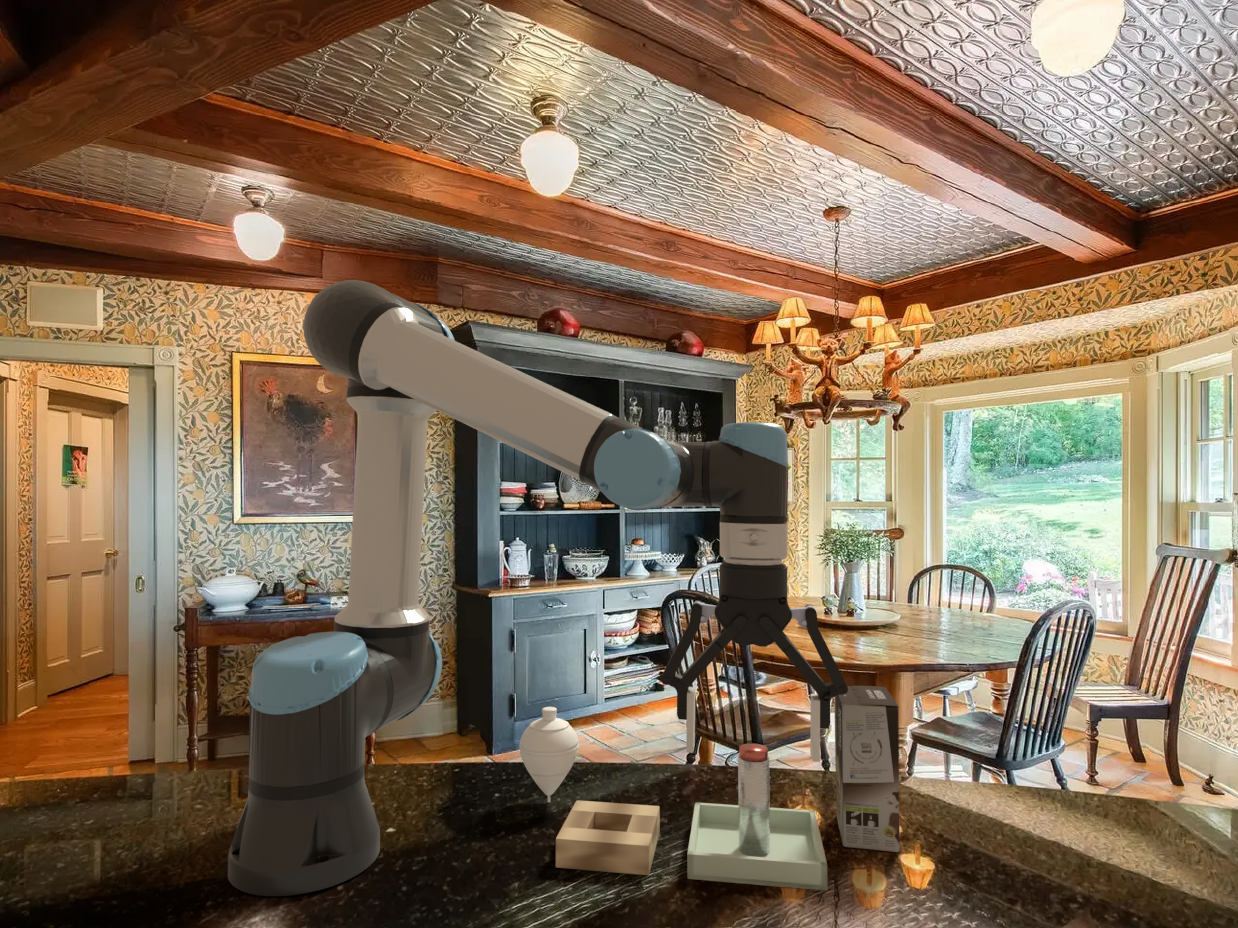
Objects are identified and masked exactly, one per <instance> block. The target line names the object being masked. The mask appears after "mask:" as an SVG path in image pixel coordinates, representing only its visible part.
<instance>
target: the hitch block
mask: <svg viewBox="0 0 1238 928" xmlns="http://www.w3.org/2000/svg"><path fill="white" fill-rule="evenodd" d="M660 811H661V810H660V806H659V805H650V804H649V805H648V804H633V803H622V802H621V803H619V802H604V801H591V800H576V801H575V802H574V804H573V806H572V808H571V809H570V812H569V813H568V815H567V817H566V819H565V820H564V823H562V826H561V828H560V830H559V832H558V834H557V836H556V838H555V868H560V869H571V870H582V871H594V872H606V873H616V874H617V873H618V874H628V875H630V874H631V875H639V876H640V875H643V876H650V873H651V869H652V864H653V861H654V857H655V852H656V848H657V844H658V840H659V836H660V832H661V831H660V830H661V829H660V828H661V827H660V824H661V823H660V822H661V821H660V819H661V818H660V816H661V815H660V814H661V813H660Z"/></svg>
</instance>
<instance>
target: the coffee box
mask: <svg viewBox="0 0 1238 928" xmlns="http://www.w3.org/2000/svg"><path fill="white" fill-rule="evenodd" d="M847 687H848V692H847V693H846V694H845V695H837V696H834V697H833V698H834V701H833V702H834V753H835V754H834V755H835V756H834V759H835V761H834V762H835V764H834V765H835V801H836V803H835V808H836V809H835V810H836V813H835V814H836V815H835V817H836V819H837V820H836V821H837V824H838V830H839V835H840V838H841V842H842V846H843V847H844V848H854V849H862V850H863V849H865V850H871V851H872V850H873V851H885V852H889V853H890V852H893V853H899V852H900V850H901V849H900V848H901V847H900V846H901V845H900V837H901V836H900V835H901V833H900V832H901V831H900V781H899V780H900V744H899V743H900V737H899V735H900V733H899V732H900V731H899V730H900V729H899V727H900V726H899V709H900V706H899V704H898V703H897V702H896V700H895V699H894V697H893V696H892V694H891V693H890V692H889V690H888V688H887V687H886V686H879V685H878V686H877V685H876V686H875V685H874V686H873V685H847Z"/></svg>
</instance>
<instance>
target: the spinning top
mask: <svg viewBox="0 0 1238 928" xmlns="http://www.w3.org/2000/svg"><path fill="white" fill-rule="evenodd" d="M557 710H558V709H557V708H556V707H554V706H546V707H542V708H541V712H542V717H541V718H538V719H536V720H535V719H534V721H532V722H530V723H529V725H528V727H527V728H526V729H525V730H524V731H523V733H522V735H521V737H520V740H519V745H518V747H519V748H518V749H519V755H520V758H521V760H522V762H523V764H524V767H525V768H526V771H527V772H528V773H529V775H530V777H531V778H532V779H533V781H534V782H535V784H536V785H537V786H538V788H539V789H540V790H541V791H542V792H543V793H544V795H546V796H547V801H546V802H547V803H551V796H552V795H554V793H555V792H556V791H557V789H558V788H559V787H560V786H561V784H562V783H563V782H564V780H565V778H566V776H567V775H568V774H569V772H570V771H571V769H572V767H573V765H574V763H575V761H576V759H577V756H578V753H579V747H580V742H579V737H578V735H577V733H576V731H575V729H574V728H573V726H571V725H570V723H569V722H568V721H567V720H565V719H564V718H563V719H562V718H559V717H557V713H558V712H557Z"/></svg>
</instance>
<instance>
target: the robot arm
mask: <svg viewBox="0 0 1238 928" xmlns="http://www.w3.org/2000/svg"><path fill="white" fill-rule="evenodd" d="M302 327H303V337H304V340H305V343H306V347H307V348H308V351H309V352H310V354H311V356H312V357H313V359H314V360H315V361H316V362H317V363H318V364H319V365H320V366H321V367H322V368H323V369H325V370H326V371H328V372H330V373H331V374H334V375H335V376H338V377H340V378H344V379H347V386H346V403H348V405H349V406H350V407H351V408H352V409H353V410H354V411H355V412H356V414H357V430H356V431H357V433H356V454H355V472H354V489H353V508H352V524H351V525H352V527H351V544H350V563H349V578H348V582H349V583H348V597H347V598H348V599H347V604H346V606H344V607H343V608H342V609H341V610H340V611H339V612H338V613H337V614H335V616H334V621H333V623H334V624H333V631H324V632H323V631H321V632H314V633H309V634H307V635H305V636H294V637H291V638H287V639H284V640H281V641H279V642H277V643H274V644H272V645H270V646H269V647H267V648H264V650H263V651H261V652H260V653H259V654H258V656H256V658H255V660H254V661H253V665H252V669H251V681H250V685H249V687H248V702H249V723H248V726H249V727H248V729H249V731H248V732H249V733H248V734H249V735H248V736H249V737H248V738H249V739H248V741H249V742H248V795H247V798H246V802H245V805H244V807H243V811H242V813H241V816H240V819H239V822H238V825H237V827H236V831H235V832H234V835H233V839H232V842H231V844H230V847H229V850H228V856H227V857H228V858H227V859H228V860H227V863H228V864H227V879H228V881H229V883H230V885H231V886H232V887H234V888H235V889H237V890H239V891H241V892H243V893H246V894H250V895H254V896H262V897H286V896H296V895H305V894H309V893H313V892H316V891H320V890H324V889H328V888H330V887H331V888H332V887H334V886H336V885H339V884H342V883H345V882H346V881H348V880H351V879H352V878H354V877H357V876H358V875H359V874H361V873H362V872H364V871H365V870H367V869H368V868H369V867H370V866H372V864H373V863H374V862H375V861H376V859H377V858H378V857H379V854H380V850H381V830H380V829H381V827H380V824H379V821H378V819H377V815H376V812H375V809H374V805H373V802H372V799H371V796H370V793H369V790H368V787H367V784H366V780H365V779H366V778H365V760H366V759H365V758H366V751H365V750H366V738H367V737H369V736H371V735H372V734H374V733H376V732H378V731H380V730H381V729H383V728H385V727H387V726H388V725H390V724H392V723H394V722H396V721H400V720H403V719H405V718H406V717H408V716H410V715H412V714H413V713H414V712H416V710H417V709H419V708H420V707H421V706H422V705H424V704H425V703H426V702H427V701H428V700H429V698H430V697H431V696H432V694H434V692H435V691H436V688H437V686H438V684H439V682H440V679H441V674H442V670H443V669H442V668H443V658H442V652H441V648H440V646H439V643H438V641H435V639H434V637H433V634H432V633H431V632H430V615H429V613H428V612H427V611H426V610H425V609H424V608H423V607H422V605H420V603H419V598H420V597H419V593H420V578H421V577H420V575H421V574H420V573H421V555H422V537H423V534H422V533H423V519H424V518H423V516H424V496H425V477H426V474H425V473H426V460H427V459H426V458H427V457H426V456H427V442H428V441H427V439H428V437H427V436H428V421H429V419H430V418H431V417H433V415H434V414H435V413H436V412H437V411H438V412H440V413H442V414H444V415H446V416H448V417H450V418H452V419H454V420H456V421H458V422H460V423H462V424H465V425H466V426H468V427H471V428H472V429H475V430H477V431H479V432H481V433H483V434H485V435H487V436H488V437H491V438H492V439H495V440H496V441H499V442H501V443H502V444H505V445H507V446H508V447H511V448H513V449H515V450H517V451H519V452H521V453H524V454H526V455H527V456H528V457H529V456H530V457H531V458H534V459H535V460H538V461H540V462H541V463H544V464H546V465H547V466H550V467H553V468H554V469H556V470H558V471H560V472H562V473H564V474H566V475H568V476H570V477H573V478H574V479H576V480H579V481H581V482H582V483H584V484H586V485H588V486H589V487H591V488H594V489H595V490H596V491H600V492H601V493H602V494H603V495H604V496H605V497H606V498H607V499H608V500H609V501H611V502H612V503H614V504H615V505H618V506H620V507H623V508H625V509H627V510H633V511H645V510H650V509H654V508H665V507H667V508H668V507H672V508H673V507H674V508H676V507H680V508H682V507H683V508H684V507H686V508H687V507H690V508H691V507H692V508H693V507H695V508H696V507H699V508H701V507H706V508H713V507H716V508H718V507H719V513H720V516H719V556H720V557H722V558H723V559H724V560H723V561H722V562H720V563H721V564H719V571H718V572H719V579H718V580H719V583H718V584H719V585H718V587H719V591H718V592H719V593H718V595H719V596H718V602H717V604H716V605H714V604H708V603H703V602H702V601H701V600H695V601H694V602H693V603H692V604H691V608H690V616H689V622H688V625H687V626H686V627H685V629H684V632H683V633H682V636H681V637H680V639H679V642H678V644H677V645H676V647H675V650H674V651H673V653H672V655H671V657H670V659H669V661H668V663H667V664H666V667H665V669H664V670H663V673H662V675H661V678H660V681H661V683H662V684H663V685H665V686H670V687H672V688H674V689H675V691H676V716H677V719H678V720H681V721H683V720H685V721H686V750H685V751H686V753H689V754H691V753H692V754H693V753H694V750H695V745H696V744H695V743H696V687H695V686H692V685H693V683H694V682H695V681H696V680H697V679H698V677H700V676H701V674H702V673H703V672H704V671H705V670H706V669H707V668H708V666H709V665H711V663H712V662H713V661H714V660H715V658H716V657H717V656H718V655H719V654H720V653H721V652H722V651H723V650H724V649H726V647H727V646H728V645H729V643H730V642H734V644H736V645H738V646H740V647H741V646H742V647H746V646H750V645H753V646H754V645H755V646H756V647H762V648H763V647H764V648H767V647H768V646H770V645H772V644H774V643H775V645H776V646H777V647H778V648H779V649H780V651H781V652H783V653H784V655H785V656H786V657H787V658H788V660H789V661H790V662H791V663H792V664H793V666H795V668H796V670H797V671H798V672H799V673H800V674H801V676H802V677H803V678H804V679H805V680H806V682H807V683H808V684H809V686H810V687H811V688H812V689H813V690H814V692H815V693H810V725H809V726H810V730H809V731H810V734H809V735H810V737H809V739H810V744H809V745H810V748H809V749H810V751H809V752H810V758H811V760H812V762H815V763H816V762H817V763H820V762H821V729H824V730H827V729H828V730H829V729H830V726H831V701H832V699H833V698H834V696H837V695H845V694H846V693H847V692H848V687H847V686H848V685H847V683H846V681H845V679H844V677H843V675H842V673H841V671H840V669H839V667H838V665H837V663H836V661H835V659H834V657H833V655H832V653H831V650H830V649H829V647H828V645H827V642H826V641H825V639H824V637H823V634H822V633H821V630H820V629H819V622H818V621H819V620H818V613H817V610H816V609H815V607H814V606H813V605H812V604H805V605H804V607H803V606H802V607H793V608H792V607H791V606H789V603H788V566H786V564H785V563H784V562H783V560H785V559H787V558H788V553H789V552H788V548H789V547H788V541H789V540H788V532H789V531H788V530H789V529H788V528H789V527H788V524H789V523H788V511H789V509H788V508H789V507H788V505H789V503H788V501H789V499H788V498H789V455H788V454H789V452H788V450H789V449H788V433H787V431H786V430H785V429H784V428H783V427H782V426H781V425H779V424H778V423H773V422H772V423H770V422H759V421H758V422H749V421H748V422H734V423H727V424H724V425H723V426H722V427H721V429H720V435H719V437H718V440H712V441H695V442H694V441H672V440H669V439H667V438H665V437H663V436H662V435H659V434H657V433H656V432H653V431H652V430H649V429H645V428H643V427H641V426H638V425H637V424H634V423H632V422H630V421H627V420H625V419H623V418H620V417H617V416H616V415H614V414H612V413H610V412H609V411H606V410H604V409H602V408H600V407H599V406H598V407H597V406H595V405H593V404H591V403H588V402H587V401H586V400H583V399H581V398H579V397H576V396H575V395H572V394H569V393H568V392H565V391H563V390H562V389H560V388H557V387H554V386H553V385H551V384H548V383H547V382H544V381H542V380H539V379H538V378H535V377H534V376H531V375H529V374H527V373H524V372H522V371H520V370H518V369H517V368H514V367H511V366H509V365H508V364H505V363H503V362H501V361H499V360H496V359H494V358H492V357H490V356H488V355H487V354H484V353H482V352H480V351H478V350H476V349H473V348H472V347H469V346H467V345H466V344H462V343H460V342H458V341H456V340H455V337H454V335H453V333H452V332H451V330H450V328H449V327H448V325H447V324H446V323H445V322H444V321H443V320H442V319H441V318H440V317H438V316H437V315H435V314H434V313H433V312H432V311H431V310H429V308H426V307H425V306H422V305H420V304H418V303H415V302H411V301H409V300H407V299H405V298H403V297H402V296H399V295H397V294H394V293H392V292H391V291H389V290H386V289H385V288H383V287H381V286H379V285H377V284H375V283H371V282H367V281H364V280H358V279H347V280H340V281H336V282H333V283H332V284H330V285H327V286H326V287H324V288H323V289H321V290H320V291H319V292H318V293H316V295H315V296H314V297H313V298H311V301H310V302H309V305H307V309H306V310H305V314H304V318H303V326H302ZM790 607H791V608H790ZM712 616H715V618H716V620H717V622H718V623H719V624H720V625H721V627H722V628H721V630H720V631H719V632H718V633H717V635H716V636H715V637H714V639H712V641H711V642H710V643H709V644H708V645H707V646H706V647H705V648H704V649H703V651H702V652H701V653H700V654H699V655H698V656H697V657H696V659H695V660H694V661H693V662H692V663H691V664H690V666H688V668H687V669H686V670H685V671H684V672H683V673H682V674H678V673H677V671H678V670H679V668H680V666H681V664H682V662H683V660H684V658H685V656H686V654H687V652H688V650H689V649H690V647H691V644H692V643H693V640H695V636H696V635H697V634H698V631H699V629H700V625H701V624H705V623H707V622H708V620H709V618H710V617H712ZM793 619H795V620H796V621H797V623H798V625H799V626H800V627H801V628H805V629H806V631H807V633H808V635H809V637H810V640H811V642H812V643H813V645H814V647H815V649H816V651H817V653H818V655H819V658H820V660H821V662H822V663H823V664H822V665H823V666H824V668H825V670H826V672H827V675H829V678H830V680H831V681H829V682H825V681H824V679H823V678H821V676H820V674H818V673H817V671H816V670H815V669H814V668H813V667H812V665H811V664H810V663H809V662H808V661H807V659H806V658H805V657H804V655H803V654H802V653H801V652H800V651H799V649H798V648H797V647H796V645H794V644H793V642H792V641H791V640H790V638H789V637H788V635H787V634H786V633H785V632H784V630H785V629H786V628H787V626H788V625H789V624H790V623H791V621H792V620H793Z"/></svg>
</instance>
